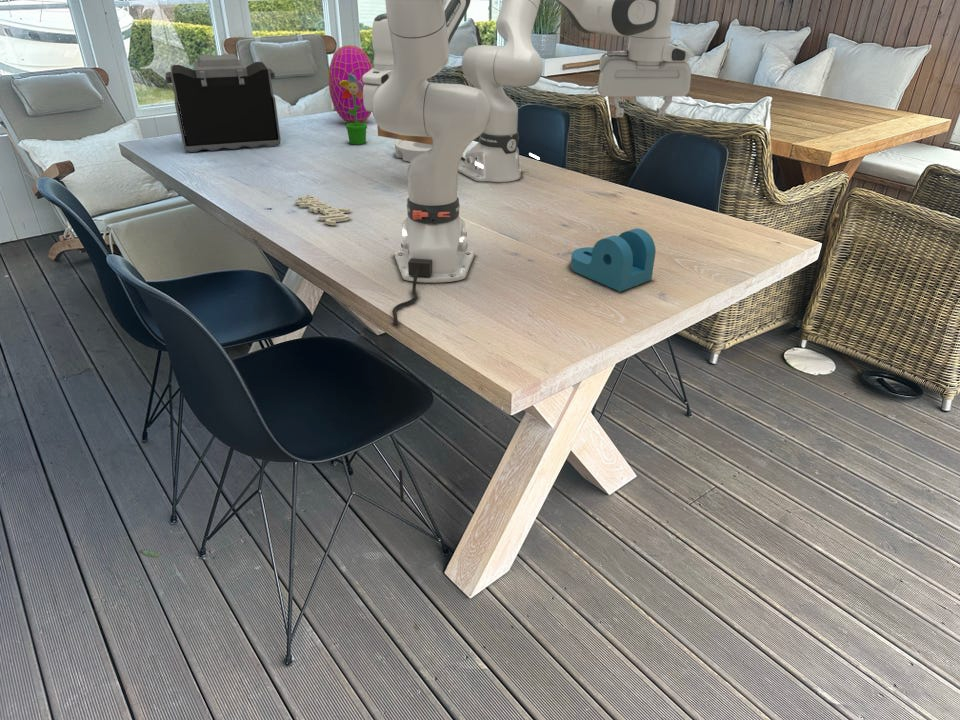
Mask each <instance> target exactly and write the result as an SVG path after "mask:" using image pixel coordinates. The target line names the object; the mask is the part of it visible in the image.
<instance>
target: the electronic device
mask: <svg viewBox="0 0 960 720" xmlns="http://www.w3.org/2000/svg"><path fill="white" fill-rule="evenodd" d="M197 58H198V59H197V60H195V61H193V67H194V69H193V68H189V67H187V66H184V65H181V64H171V65H170V71H167V72H165V74H164V75H165V82H166V84H171V85H172V90H173V94H174V106H175V107H174V108H175V111H176V112H175V113H176V116H177V121H178V126H179V131H180V136H181V141H182V146H183V149H184V150H185V151H186V152H187V153H188V152H189V153H199V152H200V151H202V150H203V151H204V150H207V151H210V152H214V151H219V150H220V149H228V150H239V149H240V148H245V147H247V148H250V149H255V148H258V147H260V146H267V147H277V146H279V145H281V141H282V139H281V131H280V125H279V117H278V109H277V102H276V97H275V95H274V89H273V81H272V80H273V79H276V73H275V71H274V70H273V69H272V68H270V67H268V66H266V64H265V63H264V62H263V61H255V62H253V63H251V64H249V65H247V66H246V65H245V63H244V62H243V60H241V59H239V58H238V57H237V55H236V54H235V53H222V54H218V55H215V54H213V55H212V54H198V57H197Z"/></svg>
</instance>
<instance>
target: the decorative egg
mask: <svg viewBox="0 0 960 720" xmlns="http://www.w3.org/2000/svg"><path fill="white" fill-rule="evenodd" d="M372 68H374V66H373V63H372V62H371V60H370V57H369V56H368V54H367V53H366V51H365V50H363V48H361V47H359V46H357V45H353V44H352V45H351V44H348V45H343V46H340V47H338V48H337V49H336V51H334V53H333V56H332V57H331V61H330V63H329V69H328V90H329V96H330V99H331V103H332V105H333V108H334V110H335V111H336V113H337V114H338V116H339V118H341V119H342V120H343V121H344V122H346V123H348V124H349V123H355V115H351V114H349V112H348V111H349V110H354V100H353V95H352V96H351V97H350V98H348V99H341V97H342V94H343V93H344V91H345V90H347V89H346V88H343V87H342V86H341V85H340V84H339V83H340V82H341V81H342V80H346V81H349V78H348V73H350V74H352V75H354V76H355V78H356V83H357V82H358V81H361V82H362V84H363V87H364V85H365V84H366V83H363V80H362V77H363V75H364V74H366V73H367V72H368V71H370V70H371V69H372ZM360 91H361V92H362V93H363V89H361V90H360ZM355 103H356V106H359V109H358V110H356V116H357V123H364V122H365V121H366V120H368V118H369V117H370V116H371V114H372V112H371V111H366V109H365V108H364V102H363V98H362V100H359V99H358V98H357V97H356V95H355Z"/></svg>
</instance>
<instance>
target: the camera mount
mask: <svg viewBox="0 0 960 720" xmlns="http://www.w3.org/2000/svg"><path fill="white" fill-rule="evenodd" d="M655 259H656V245H655V241H654V239H653V238H652V236H651V235H650V234H649V232H647V230H644V229H642V228H638V227H637V228H632V229H629V230H626V231H623V232H621V233H620V234H619V235H611V236H607V237H604V238H600V239H599V240H597V241H596V242H595V244H594V245H593V246H587V247H586V246H585V247H580V248H575V249H574V250H573V251H572V252H571V257H570V270H572V271H573V272H575V273H576V274H578V275H581V276H583V277H585V278H587V279H590V280H591V281H594V282H597V283H599V284H601V285H604V286H606V287H609V289H612V290H614V291H617V292H619V293H621V292H624V291H626V290H629V289H631V288H635V287H637V286H639V285H641V284H644V283H647V282H650V281H652V278H653V273H654V266H655Z"/></svg>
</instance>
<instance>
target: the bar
mask: <svg viewBox="0 0 960 720" xmlns="http://www.w3.org/2000/svg"><path fill="white" fill-rule="evenodd" d="M376 125H377V124H376ZM377 136H378V137H383V138H389V139H394V140H406V141H412V142H418V143H424V144H430V145H433V139H432V138H431V137H422V136H405V135H399V134H395V133H391V132H388V131H384V130H382V129H380V127H379V126H378V125H377Z"/></svg>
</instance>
